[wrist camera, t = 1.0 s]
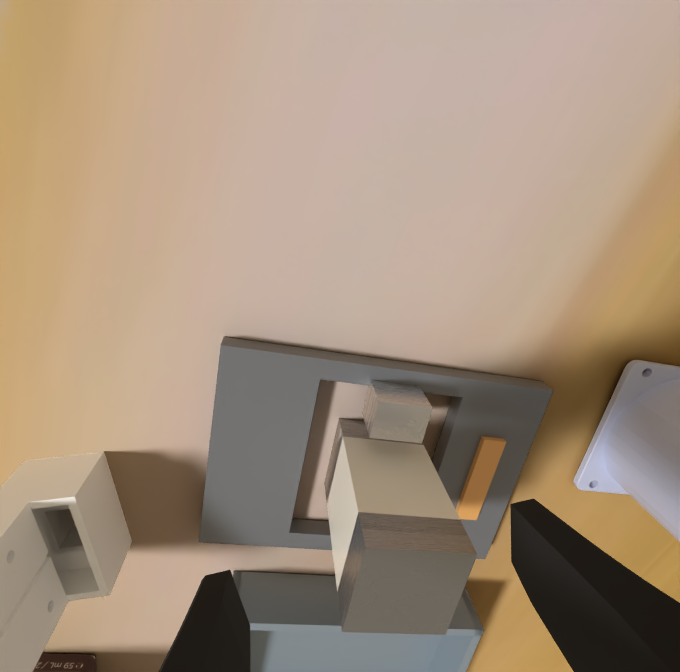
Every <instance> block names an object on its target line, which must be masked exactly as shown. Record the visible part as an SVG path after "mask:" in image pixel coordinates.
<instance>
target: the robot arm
mask: <svg viewBox="0 0 680 672" xmlns="http://www.w3.org/2000/svg"><path fill="white" fill-rule="evenodd" d="M645 369H646V370H645ZM644 370H645V372H644V373H642V372H643V371H644ZM573 482H574V484H575V486H576V487H577V488H578V489H580V490H585V491H596V492H607V493H618V494H628V495H631V496H632V497H633V498H634V499H635V500H636V501H637V502H638V503H639V504H640V505H641V506H642V507H643V508H644V509H645V510H646V511H647V512H648V513H650V514H651V515H652V516H653V517H654V518H655V519H656V520H657V521H658V522H659V523H660V524H661V525H662V526H663V527H664V528H665V529H666V530H667V531H669V532H670V533H671V534H672V535H673V536H674V537H675V538H676V539H677V540H678V541H679V542H680V366H674V365H667V364H661V363H655V362H648V361H642V360H633V361H630V362H629V363H628V364H627V365H626V367H625V369H624V371H623V373H622V375H621V377H620V380H619V382H618V384H617V386H616V388H615V391H614V393H613V395H612V397H611V399H610V401H609V404H608V406H607V408H606V410H605V412H604V415H603V417H602V419H601V421H600V423H599V425H598V428H597V430H596V432H595V434H594V436H593V439H592V441H591V443H590V445H589V447H588V449H587V452H586V454H585V456H584V458H583V460H582V463H581V465H580V467H579V469H578V471H577V473H576V476H575V478H574V481H573ZM511 562H512V564H513V566H514V568H515V570H516V572H517V574H518V576H519V579H520V581H521V583H522V585H523V587H524V589H525V591H526V593H527V595H528V597H529V599H530V601H531V603H532V605H533V606H534V608H535V610H536V611H537V613H538V615H539V616H540V618H541V619H542V621H543V623H544V624H545V626H546V628H547V629H548V631H549V633H550V634H551V636H552V637H553V639H554V641H555V642H556V644H557V645H558V647H559V649H560V650H561V652H562V653H563V655H564V657H565V658H566V660H567V661H568V663H569V665H570V666H571V668H572V670H573V671H574V672H680V603H679V602H677V601H676V600H674V599H673V598H671V597H670V596H668V595H667V594H665V593H663V592H662V591H660V590H659V589H657V588H656V587H654V586H653V585H651V584H650V583H648V582H647V581H645V580H644V579H642V578H641V577H639V576H638V575H636V574H635V573H633V572H632V571H631V570H629V569H628V568H626V567H625V566H623V565H622V564H621V563H619V562H618V561H616V560H615V559H614V558H612V557H611V556H609V555H608V554H607V553H605V552H604V551H602V550H601V549H600V548H598V547H597V546H595V545H594V544H593V543H591V542H590V541H589V540H587V539H586V538H585V537H583V536H582V535H581V534H579V533H578V532H577V531H575V530H574V529H573V528H571V527H570V526H569V525H567V524H566V523H565V522H564V521H562V520H561V519H560V518H558V517H557V516H556V515H554V514H553V513H552V512H551V511H549V510H548V509H547V508H545V507H544V506H543V505H541V504H540V503H539V502H537V501H536V500H535V499H530V500H526V501H521V502H517V503H513V504H511ZM250 655H251V651H250V624H249V621H248V618H247V615H246V612H245V610H244V607H243V604H242V601H241V599H240V596H239V593H238V590H237V588H236V585H235V582H234V579H233V577H232V574H231V571H230V570H228V571H223V572H219V573H215V574H210V575H206V576H205V577H204V578H203V579H202V581H201V584H200V586H199V588H198V590H197V593H196V595H195V597H194V599H193V602H192V604H191V606H190V608H189V611H188V613H187V615H186V617H185V619H184V621H183V623H182V626H181V628H180V630H179V632H178V634H177V636H176V638H175V640H174V642H173V644H172V646H171V648H170V650H169V652H168V654H167V656H166V658H165V660H164V662H163V664H162V666H161V668H160V670H159V672H250Z"/></svg>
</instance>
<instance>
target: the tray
mask: <svg viewBox="0 0 680 672" xmlns="http://www.w3.org/2000/svg"><path fill="white" fill-rule="evenodd" d="M233 579H234V582H235V585H236V588H237V590H238V593H239V596H240V599H241V601H242V604H243V607H244V610H245V612H246V615H247V618H248V621H249V624H250V651H251V655H250V672H466V670H467V668H468V665H469V663H470V661H471V658H472V656H473V654H474V652H475V649H476V647H477V645H478V642H479V640H480V638H481V636H482V633H483V631H484V629H483V626H482V624H481V622H480V619H479V617H478V615H477V612H476V610H475V608H474V605H473V603H472V601H471V598H470V596H469V594H468V591H467V589H466V587H464V590H463V592H462V595H461V597H460V600H459V602H458V605H457V607H456V610H455V612H454V615H453V617H452V620H451V623H450V625H449V628H448V630H447V633H446V635H428V634H391V633H353V632H342V629H341V620H340V612H339V603H338V595H337V586H336V577H335V576H327V575H306V574H285V573H265V572H244V571H234V574H233Z"/></svg>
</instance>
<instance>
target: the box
mask: <svg viewBox="0 0 680 672" xmlns="http://www.w3.org/2000/svg"><path fill="white" fill-rule="evenodd" d="M33 672H96V664H95V656H93V655H87V654H47V653H42V654H41V656H40V658H39V660H38V662H37V664H36V666H35V668H34V670H33Z"/></svg>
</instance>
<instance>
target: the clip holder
mask: <svg viewBox="0 0 680 672" xmlns="http://www.w3.org/2000/svg"><path fill="white" fill-rule="evenodd" d="M320 379H322V380H330V381H338V382H346V383H353V384H361V385H369V387H368V391H367V396H366V400H365V404H364V408H363V412H362V415H363V418H364V421H365V425H366V428H367V431H368V434H369V438H376V439H386V440H395V441H405V442H414V443H422V442H423V438H424V435H425V432H426V428H427V425H428V422H429V419H430V415H431V412H432V409H433V407H432V406H431V404H430V402H429V401H428V399H427V398H426V396H425V394H424V393H431V394H439V395H447V396H453V397H452V400H451V404H450V407H449V410H448V413H447V416H446V419H445V422H444V425H443V429H442V432H441V435H440V438H439V441H438V444H437V447H436V450H435V454H434V457H433V460H432V463H433V465H434V467H435V469H436V471H437V473H438V475H439V477H440V479H441V481H442V483H443V485H444V487H445V489H446V492H447V494H448V496H449V498H450V500H451V502H452V504H453V506H454V508H455V510H456V512H457V514H458V516H459V518H460V520H461V522H462V524H463V526H464V528H465V530H466V532H467V534H468V536H469V538H470V540H471V542H472V544H473V546H474V548H475V550H476V552H477V557H476V559H485V558H486V556H487V554H488V551H489V549H490V546H491V544H492V541H493V539H494V536H495V534H496V531H497V529H498V526H499V524H500V521H501V519H502V517H503V514H504V512H505V509H506V507H507V504H508V502H509V499H510V497H511V494H512V492H513V489H514V487H515V484H516V482H517V480H518V477H519V475H520V472H521V470H522V467H523V465H524V462H525V460H526V457H527V455H528V452H529V450H530V448H531V445H532V443H533V440H534V438H535V435H536V433H537V430H538V428H539V425H540V423H541V420H542V418H543V415H544V413H545V411H546V408H547V406H548V403H549V401H550V398H551V396H552V393H553V390H552V389H551V388H550V387H549V386H547V385H546V384H545V383H544V382H543V381H536V380H529V379H522V378H515V377H508V376H500V375H493V374H486V373H479V372H472V371H465V370H458V369H450V368H443V367H436V366H429V365H422V364H415V363H408V362H401V361H393V360H386V359H379V358H372V357H365V356H358V355H351V354H343V353H336V352H329V351H322V350H315V349H308V348H301V347H294V346H286V345H279V344H272V343H265V342H258V341H251V340H244V339H236V338H229V337H224V338H223V341H222V343H221V348H220V357H219V366H218V375H217V384H216V393H215V402H214V410H213V419H212V428H211V437H210V446H209V455H208V463H207V472H206V481H205V490H204V499H203V508H202V516H201V525H200V534H199V542H203V543H220V544H237V545H254V546H271V547H288V548H305V549H322V550H332V543H331V534H330V526H329V521H318V520H303V519H292V516H293V511H294V506H295V501H296V496H297V491H298V486H299V481H300V476H301V471H302V467H303V462H304V457H305V452H306V447H307V442H308V437H309V432H310V427H311V422H312V417H313V412H314V407H315V402H316V397H317V392H318V387H319V382H320Z"/></svg>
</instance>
